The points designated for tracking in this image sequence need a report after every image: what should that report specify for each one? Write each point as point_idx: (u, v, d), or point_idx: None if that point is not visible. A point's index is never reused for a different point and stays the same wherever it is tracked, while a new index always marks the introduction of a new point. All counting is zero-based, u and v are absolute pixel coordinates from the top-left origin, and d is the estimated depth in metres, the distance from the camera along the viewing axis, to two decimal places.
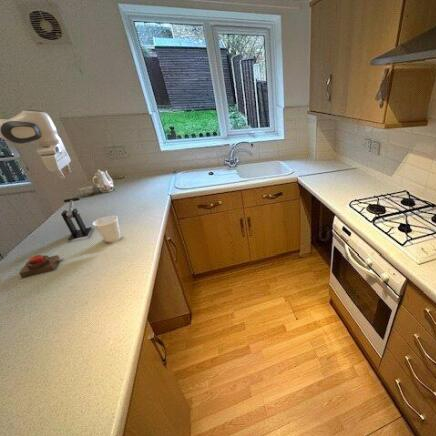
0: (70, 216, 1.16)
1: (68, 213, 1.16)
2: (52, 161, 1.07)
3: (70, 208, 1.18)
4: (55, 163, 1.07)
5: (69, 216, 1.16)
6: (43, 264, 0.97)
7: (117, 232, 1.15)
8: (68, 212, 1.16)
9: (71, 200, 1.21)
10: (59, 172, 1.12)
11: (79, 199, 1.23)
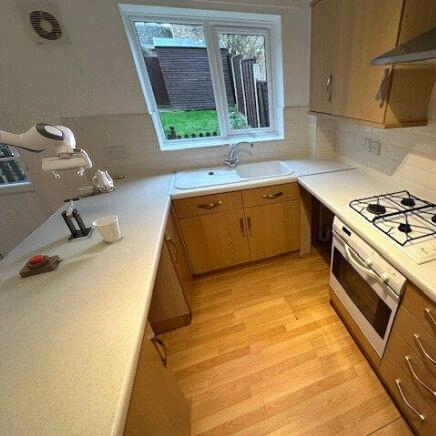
0: (70, 216, 1.16)
1: (68, 213, 1.16)
2: (90, 160, 1.32)
3: (70, 208, 1.18)
4: None
5: (69, 216, 1.16)
6: (43, 264, 0.97)
7: (117, 232, 1.15)
8: (68, 212, 1.16)
9: (71, 200, 1.21)
10: (83, 170, 1.29)
11: (79, 199, 1.23)
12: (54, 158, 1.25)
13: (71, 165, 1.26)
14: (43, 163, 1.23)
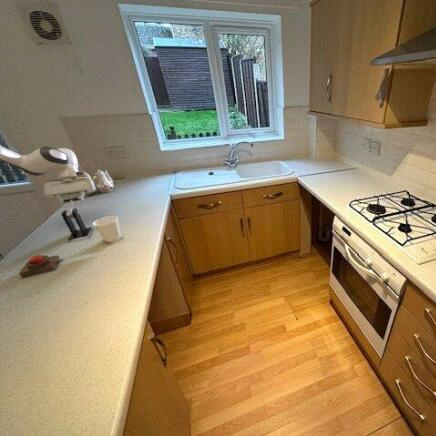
0: (70, 216, 1.16)
1: (68, 213, 1.16)
2: (93, 183, 1.29)
3: (70, 208, 1.18)
4: (94, 185, 1.29)
5: (69, 216, 1.16)
6: (43, 264, 0.97)
7: (117, 232, 1.15)
8: (68, 212, 1.16)
9: (71, 200, 1.21)
10: (84, 194, 1.25)
11: None
12: (56, 182, 1.21)
13: (74, 189, 1.22)
14: (45, 188, 1.19)
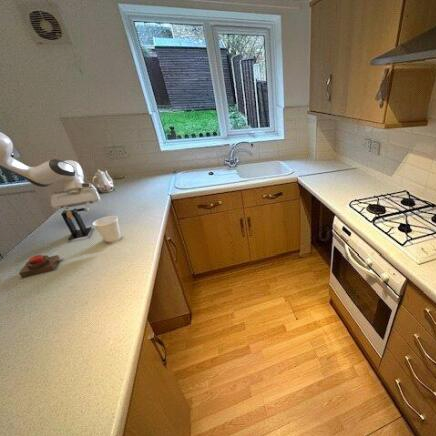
0: (69, 214, 1.16)
1: (68, 212, 1.16)
2: (98, 194, 1.32)
3: None
4: (99, 195, 1.33)
5: (68, 214, 1.16)
6: (43, 264, 0.97)
7: (117, 232, 1.15)
8: (69, 212, 1.17)
9: None
10: (90, 204, 1.29)
11: None
12: (63, 194, 1.25)
13: (80, 201, 1.26)
14: (52, 199, 1.22)
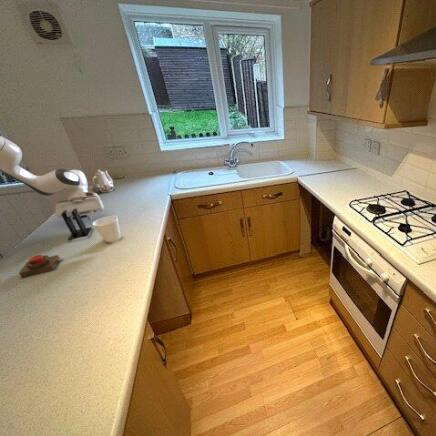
0: (69, 213, 1.16)
1: None
2: (102, 203, 1.34)
3: None
4: None
5: (68, 213, 1.16)
6: (43, 264, 0.97)
7: (117, 232, 1.15)
8: None
9: None
10: (93, 213, 1.30)
11: (86, 216, 1.27)
12: (67, 203, 1.27)
13: (84, 209, 1.28)
14: (56, 209, 1.24)
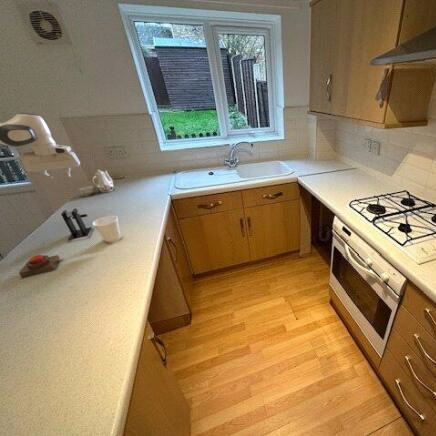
0: (69, 214, 1.16)
1: None
2: (76, 156, 1.21)
3: None
4: (77, 157, 1.21)
5: (68, 213, 1.16)
6: (43, 264, 0.97)
7: (117, 232, 1.15)
8: None
9: None
10: (70, 169, 1.21)
11: (86, 215, 1.27)
12: (35, 158, 1.12)
13: (59, 167, 1.17)
14: (25, 164, 1.11)
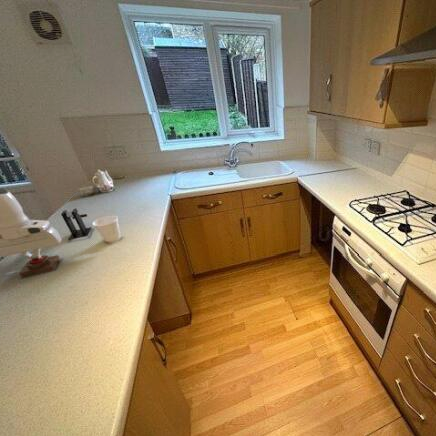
0: (69, 214, 1.16)
1: None
2: (56, 232, 0.97)
3: None
4: (58, 233, 0.98)
5: (68, 213, 1.16)
6: (43, 264, 0.97)
7: (117, 232, 1.15)
8: None
9: None
10: (39, 249, 0.97)
11: (86, 215, 1.27)
12: (3, 241, 0.89)
13: (34, 248, 0.94)
14: None
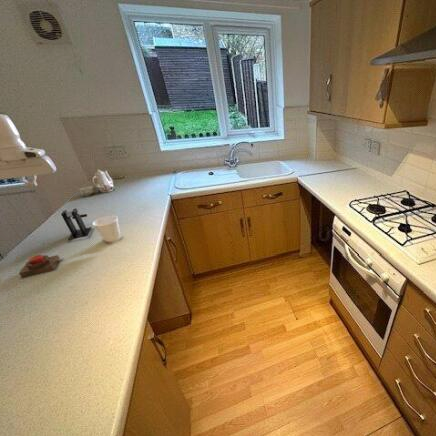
0: (69, 214, 1.16)
1: None
2: (51, 161, 1.04)
3: None
4: None
5: (68, 213, 1.16)
6: (43, 264, 0.97)
7: (117, 232, 1.15)
8: None
9: None
10: (35, 177, 1.03)
11: (86, 215, 1.27)
12: (1, 163, 0.95)
13: (30, 174, 1.00)
14: None
